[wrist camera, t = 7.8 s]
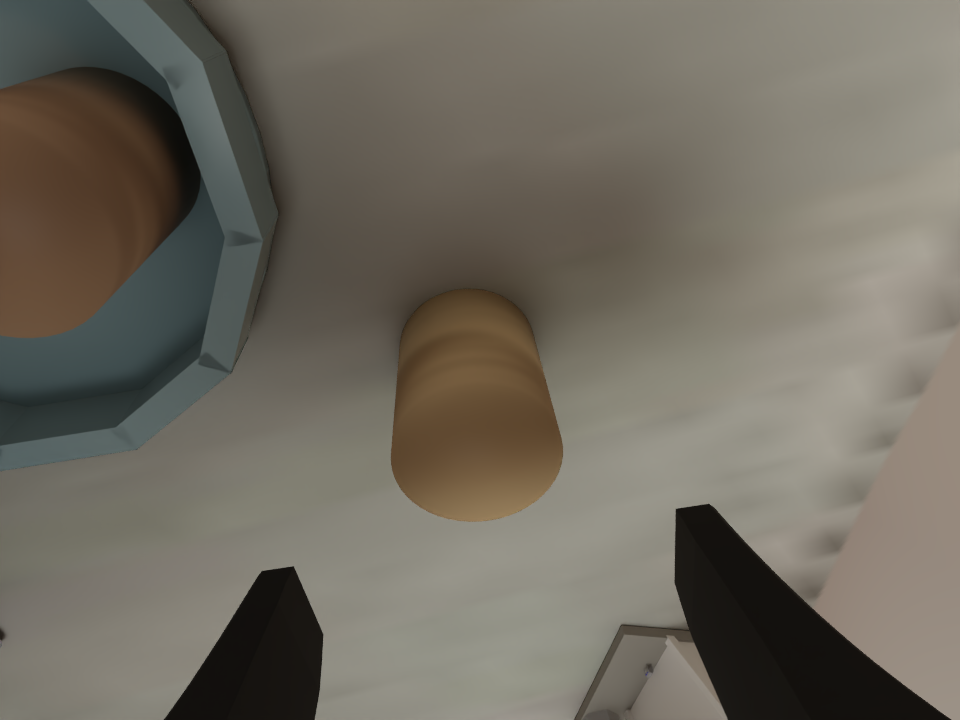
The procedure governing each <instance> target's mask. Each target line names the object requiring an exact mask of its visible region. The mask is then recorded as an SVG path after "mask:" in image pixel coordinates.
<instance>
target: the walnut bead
mask: <svg viewBox="0 0 960 720" xmlns="http://www.w3.org/2000/svg"><path fill="white" fill-rule="evenodd" d="M200 181H201V172H200V169H199V167H198V164H197V161H196V158H195V156H194V153H193V150H192V148H191V145H190V142H189V140H188V137H187V134H186V132H185V129H184V126H183V123H182V121H181V118H180V117H179V116H178V114H177V113H176V112H175V111H174V110H173V108H172V107H171V106H170V105H169V104H168V103H167V102H166V101H165V100H164V99H163V98H161V97H160V96H159V95H158V94H157V93H156V92H154V91H153V90H151V89H150V88H149V87H147V86H146V85H144V84H142V83H141V82H139V81H137V80H135V79H133V78H131V77H129V76H127V75H124V74H122V73H119V72H115V71H112V70H109V69H103V68H97V67H76V68H69V69H65V70H61V71H58V72H55V73H51V74H48V75H45V76H41V77H38V78H35V79H32V80H28V81H25V82H22V83H18V84H15V85H12V86H8V87H5V88H2V89H0V335H1V336H8V337H16V338H38V337H48V336H52V335H57V334H61V333H64V332H66V331H69V330H72V329H74V328H76V327H77V326H79V325H81V324H83V323H84V322H86V321H87V320H88V319H89V318H91V317H92V316H93V315H94V314H95V313H96V312H97V311H98V310H99V309H100V308H101V307H102V306H103V305H104V304H105V303H106V302H107V301H108V299H109V298H110V297H111V296H112V295H113V294H114V293H115V292H116V291H117V290H118V289H119V288H120V287H121V286H122V285H123V284H124V283H125V282H126V280H127V279H128V278H129V277H130V276H131V275H132V274H133V273H134V272H135V271H136V270H137V269H138V268H139V267H140V266H141V265H142V264H143V263H144V261H145V260H146V259H147V258H148V257H149V256H150V255H151V254H152V253H153V252H154V251H155V250H156V249H157V248H158V247H159V246H160V245H161V244H162V243H163V241H164V240H165V239H166V238H167V237H168V236H169V235H170V234H171V233H172V232H173V231H174V230H175V229H176V228H177V227H178V226H179V225H180V224H181V222H182V221H183V220H184V219H185V218H186V217H187V216H188V215H189V213H190V211H191V210H192V208H193V207H194V204H195V202H196V200H197V197H198V193H199V189H200Z"/></svg>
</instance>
